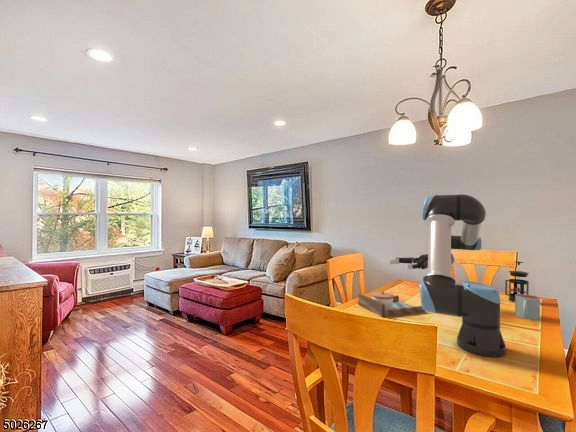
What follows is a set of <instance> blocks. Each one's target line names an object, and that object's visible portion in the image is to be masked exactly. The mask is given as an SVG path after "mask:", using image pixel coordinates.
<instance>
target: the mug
mask: <svg viewBox="0 0 576 432" xmlns="http://www.w3.org/2000/svg"><path fill="white" fill-rule="evenodd" d="M540 304H541V298H540V297H539V296H536V295H532V294H529V295H527V293H524V294H520V293H517V294H516V295H515V302H514V311H515V312H514V316H515V317H517V318H519V317H520V319H522V318H524V320H527V319H530V320H529V321H538V320H537V319H541V309H540V308H541V305H540Z"/></svg>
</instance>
